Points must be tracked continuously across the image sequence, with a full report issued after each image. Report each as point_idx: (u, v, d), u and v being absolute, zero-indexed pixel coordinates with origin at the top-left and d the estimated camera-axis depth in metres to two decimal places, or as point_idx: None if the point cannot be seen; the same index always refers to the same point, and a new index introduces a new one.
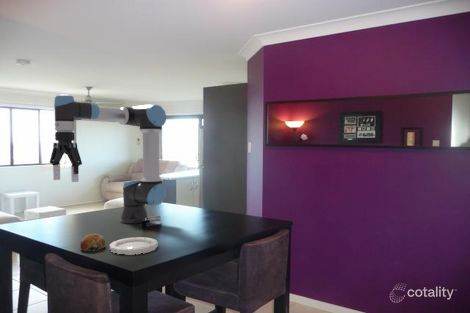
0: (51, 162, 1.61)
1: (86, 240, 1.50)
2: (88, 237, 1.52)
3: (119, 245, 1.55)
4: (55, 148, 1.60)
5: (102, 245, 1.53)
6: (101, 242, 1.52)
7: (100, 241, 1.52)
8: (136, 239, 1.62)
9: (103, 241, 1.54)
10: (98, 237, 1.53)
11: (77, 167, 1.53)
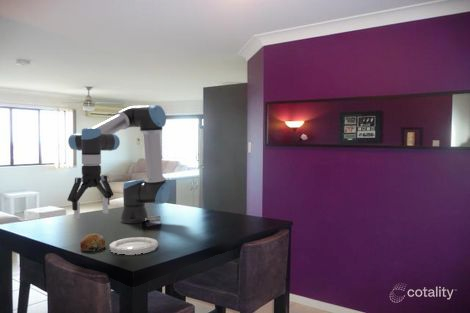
0: None
1: (86, 240, 1.50)
2: (88, 237, 1.51)
3: (119, 245, 1.55)
4: (102, 181, 1.58)
5: (102, 245, 1.53)
6: (101, 242, 1.52)
7: (100, 241, 1.52)
8: (136, 239, 1.62)
9: (103, 241, 1.54)
10: (98, 237, 1.53)
11: (73, 203, 1.46)
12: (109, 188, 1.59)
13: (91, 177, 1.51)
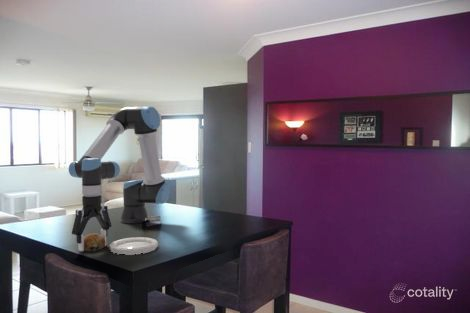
0: None
1: (86, 240, 1.50)
2: (88, 237, 1.51)
3: (119, 245, 1.55)
4: (102, 211, 1.59)
5: (102, 245, 1.53)
6: (101, 242, 1.52)
7: (100, 241, 1.52)
8: (136, 239, 1.62)
9: (103, 241, 1.54)
10: (98, 237, 1.53)
11: (77, 236, 1.48)
12: (108, 219, 1.59)
13: (91, 206, 1.52)
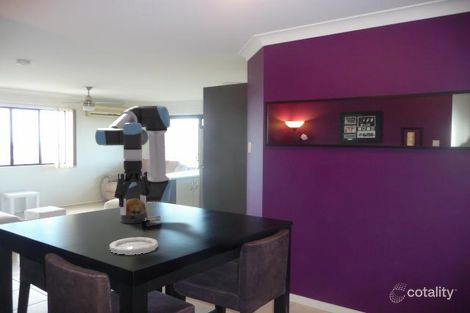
0: None
1: (128, 204, 1.50)
2: (130, 201, 1.51)
3: (119, 245, 1.55)
4: (142, 177, 1.59)
5: (143, 209, 1.53)
6: (142, 206, 1.52)
7: (141, 205, 1.52)
8: (136, 239, 1.62)
9: (144, 206, 1.54)
10: (139, 202, 1.53)
11: (120, 200, 1.48)
12: (147, 185, 1.59)
13: (133, 171, 1.52)
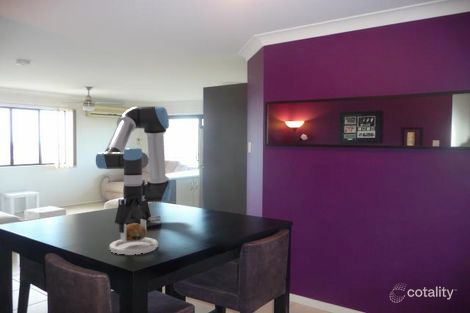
0: None
1: (128, 229, 1.51)
2: (130, 226, 1.52)
3: (119, 245, 1.55)
4: (142, 201, 1.59)
5: (144, 234, 1.53)
6: (143, 231, 1.53)
7: (142, 230, 1.53)
8: None
9: (144, 230, 1.54)
10: (139, 226, 1.54)
11: (120, 226, 1.48)
12: (148, 209, 1.59)
13: (133, 196, 1.52)
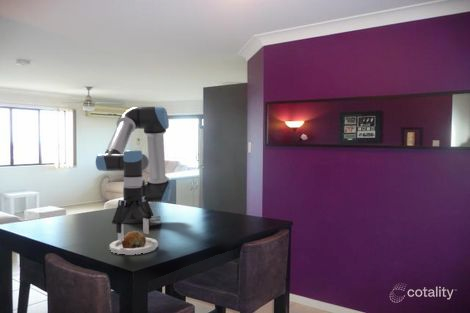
0: None
1: (128, 237, 1.51)
2: (130, 234, 1.52)
3: (119, 245, 1.55)
4: (142, 202, 1.59)
5: (143, 242, 1.53)
6: (142, 239, 1.53)
7: (141, 238, 1.53)
8: None
9: (144, 238, 1.54)
10: (139, 234, 1.54)
11: (117, 226, 1.47)
12: (149, 209, 1.60)
13: (133, 199, 1.52)
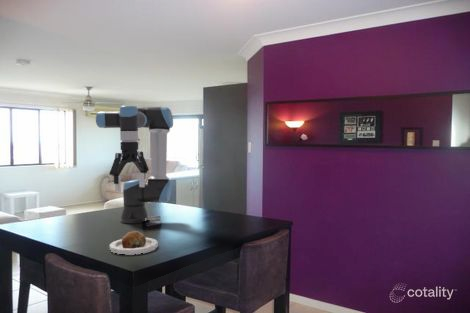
0: None
1: (128, 237, 1.51)
2: (130, 234, 1.52)
3: (119, 245, 1.55)
4: (138, 156, 1.66)
5: (143, 242, 1.53)
6: (142, 239, 1.53)
7: (142, 238, 1.53)
8: None
9: (144, 238, 1.54)
10: (139, 234, 1.54)
11: (115, 177, 1.54)
12: (145, 163, 1.67)
13: (130, 153, 1.60)
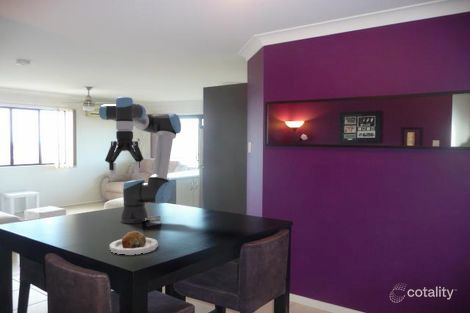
0: None
1: (128, 237, 1.51)
2: (130, 234, 1.52)
3: (119, 245, 1.55)
4: (133, 146, 1.76)
5: (143, 242, 1.53)
6: (142, 239, 1.53)
7: (142, 238, 1.53)
8: None
9: (144, 238, 1.54)
10: (139, 234, 1.54)
11: (110, 164, 1.64)
12: (139, 152, 1.77)
13: (125, 141, 1.69)
